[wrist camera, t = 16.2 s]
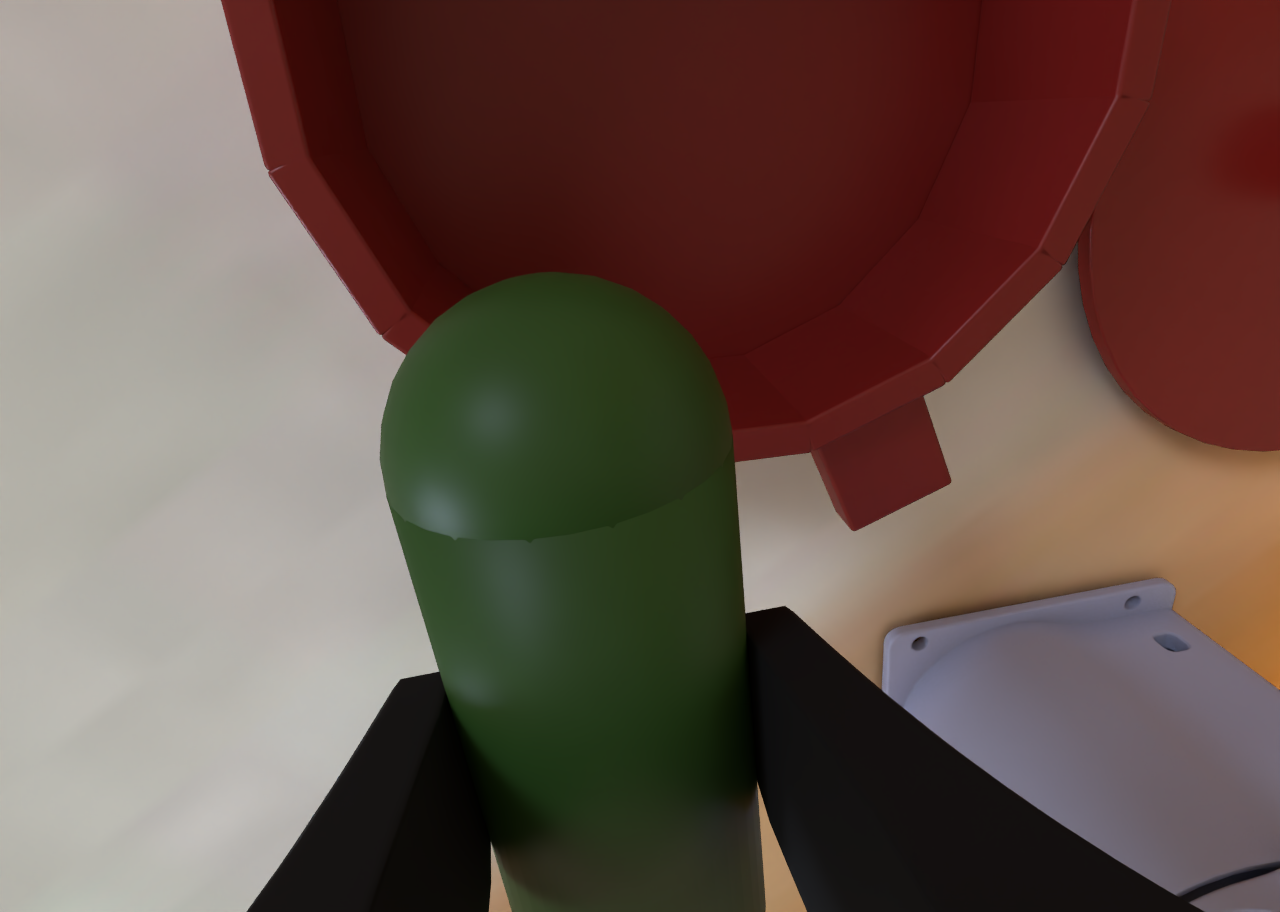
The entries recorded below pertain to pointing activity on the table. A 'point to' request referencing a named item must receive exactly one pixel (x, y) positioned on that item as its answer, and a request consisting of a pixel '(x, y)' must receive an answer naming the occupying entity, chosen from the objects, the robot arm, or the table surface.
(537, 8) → the pot
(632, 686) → the cucumber
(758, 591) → the table surface
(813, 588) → the table surface
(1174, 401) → the lid
